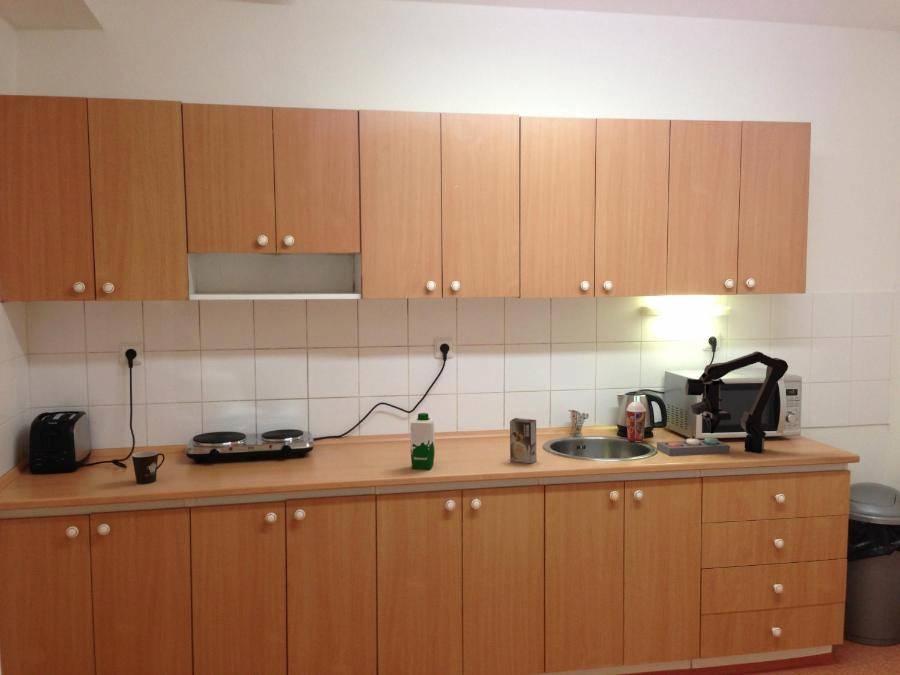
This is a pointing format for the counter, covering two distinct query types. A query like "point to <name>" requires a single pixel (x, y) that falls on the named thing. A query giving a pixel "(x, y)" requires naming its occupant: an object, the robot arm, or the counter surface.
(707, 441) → the teal button
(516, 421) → the coffee box
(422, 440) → the milk carton
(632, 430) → the smoothie
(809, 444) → the counter surface
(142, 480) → the coffee mug
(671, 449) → the button panel
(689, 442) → the cream button
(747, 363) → the robot arm
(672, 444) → the red button
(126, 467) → the counter surface
